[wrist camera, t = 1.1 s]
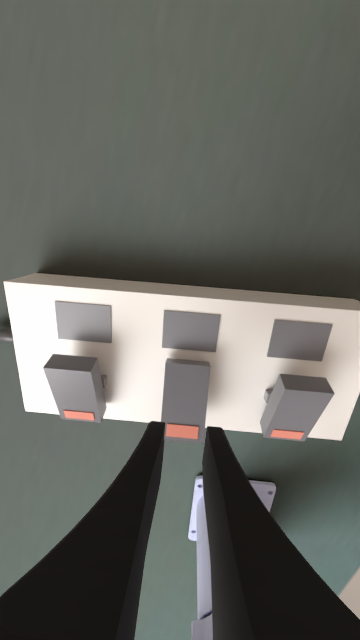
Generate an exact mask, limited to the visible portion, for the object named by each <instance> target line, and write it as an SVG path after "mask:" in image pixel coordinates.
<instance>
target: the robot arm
mask: <svg viewBox="0 0 360 640" xmlns="http://www.w3.org/2000/svg"><path fill="white" fill-rule="evenodd" d="M164 435H165V422H158V421H151V422H150V423H149V424H148V427H147V429H146V431H145V433H144V435H143V437H142V439H141V441H140V442H139V444H138V446H137V447H136V449H135V451H134V452H133V454H132V455H131V457H130V459H129V460H128V462H127V463H126V465H125V466H124V467H123V469H122V470H121V472H120V473H119V474H118V476H117V477H116V479H115V480H114V481H113V483H112V484H111V485H110V487H109V488H108V489H107V490H106V492H105V493H104V494H103V495H102V497H101V498H100V499H99V500H98V501H97V503H96V504H95V505H94V506H93V507H92V508H91V509H90V511H89V512H88V513H87V514H86V515H85V516H84V517H83V518H82V520H81V521H80V522H79V523H78V524H77V525H76V526H75V527H74V528H73V529H72V530H71V531H70V532H69V533H68V534H67V535H66V536H65V537H64V538H63V539H62V540H61V541H60V542H59V543H58V544H57V545H56V546H55V547H54V548H53V549H52V550H51V551H50V552H49V553H48V554H47V555H46V556H45V557H44V558H43V559H42V560H41V561H40V562H38V563H37V564H36V565H35V566H34V567H33V568H32V569H31V570H29V571H28V572H27V573H26V574H25V575H24V576H23V577H22V578H20V579H19V580H18V581H17V582H16V583H15V584H14V585H13V586H11V587H10V588H9V589H8V590H7V591H6V592H5V593H4V594H3V595H2V596H1V597H0V640H134V637H135V629H136V621H137V614H138V606H139V599H140V591H141V584H142V576H143V569H144V561H145V555H146V549H147V543H148V539H149V534H150V529H151V524H152V519H153V514H154V510H155V505H156V500H157V495H158V490H159V485H160V479H161V470H162V462H163V450H164ZM202 465H203V476H197V477H196V479H195V487H194V494H193V502H192V510H191V518H190V525H189V533H188V538H189V539H190V540H194V541H197V596H198V620H195V621H192V640H360V619H359V618H358V617H357V616H356V615H355V614H354V613H353V612H352V611H351V610H350V609H349V608H348V607H347V606H346V605H345V604H344V603H343V602H342V601H341V600H340V599H339V597H338V596H337V595H336V594H335V593H334V592H333V591H332V590H331V589H330V587H329V586H328V585H327V584H326V583H325V582H324V581H323V580H322V578H321V577H320V576H319V575H318V574H317V573H316V572H315V570H314V569H313V568H312V567H311V566H310V564H309V563H308V562H307V561H306V559H305V558H304V557H303V556H302V555H301V553H300V552H299V551H298V550H297V548H296V547H295V546H294V545H293V544H292V542H291V541H290V540H289V539H288V537H287V536H286V535H285V533H284V532H283V531H282V529H281V528H280V527H279V525H278V524H277V523H276V521H275V520H274V518H273V517H272V516H271V514H270V509H271V506H272V502H273V499H274V495H275V492H276V486H275V484H274V483H272V482H263V481H252V480H248V478H247V477H246V475H245V473H244V471H243V469H242V468H241V466H240V464H239V462H238V460H237V458H236V457H235V455H234V453H233V451H232V448H231V446H230V444H229V442H228V440H227V438H226V435H225V433H224V430H223V429H222V428H221V427H212V426H207V432H206V439H205V446H204V454H203V461H202Z"/></svg>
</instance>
